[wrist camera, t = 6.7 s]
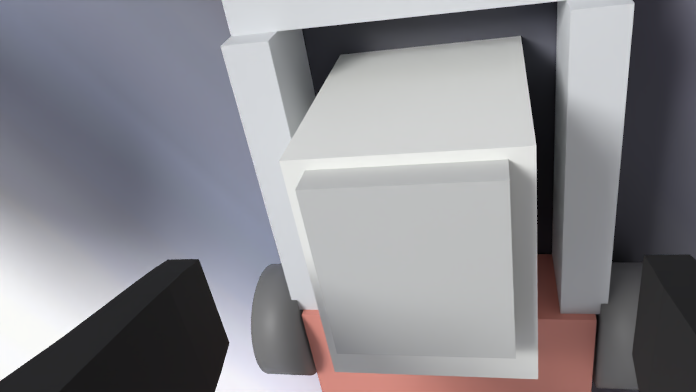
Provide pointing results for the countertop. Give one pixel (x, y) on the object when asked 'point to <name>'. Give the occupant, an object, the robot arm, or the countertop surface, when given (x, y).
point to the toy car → (568, 194)
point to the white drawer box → (422, 210)
